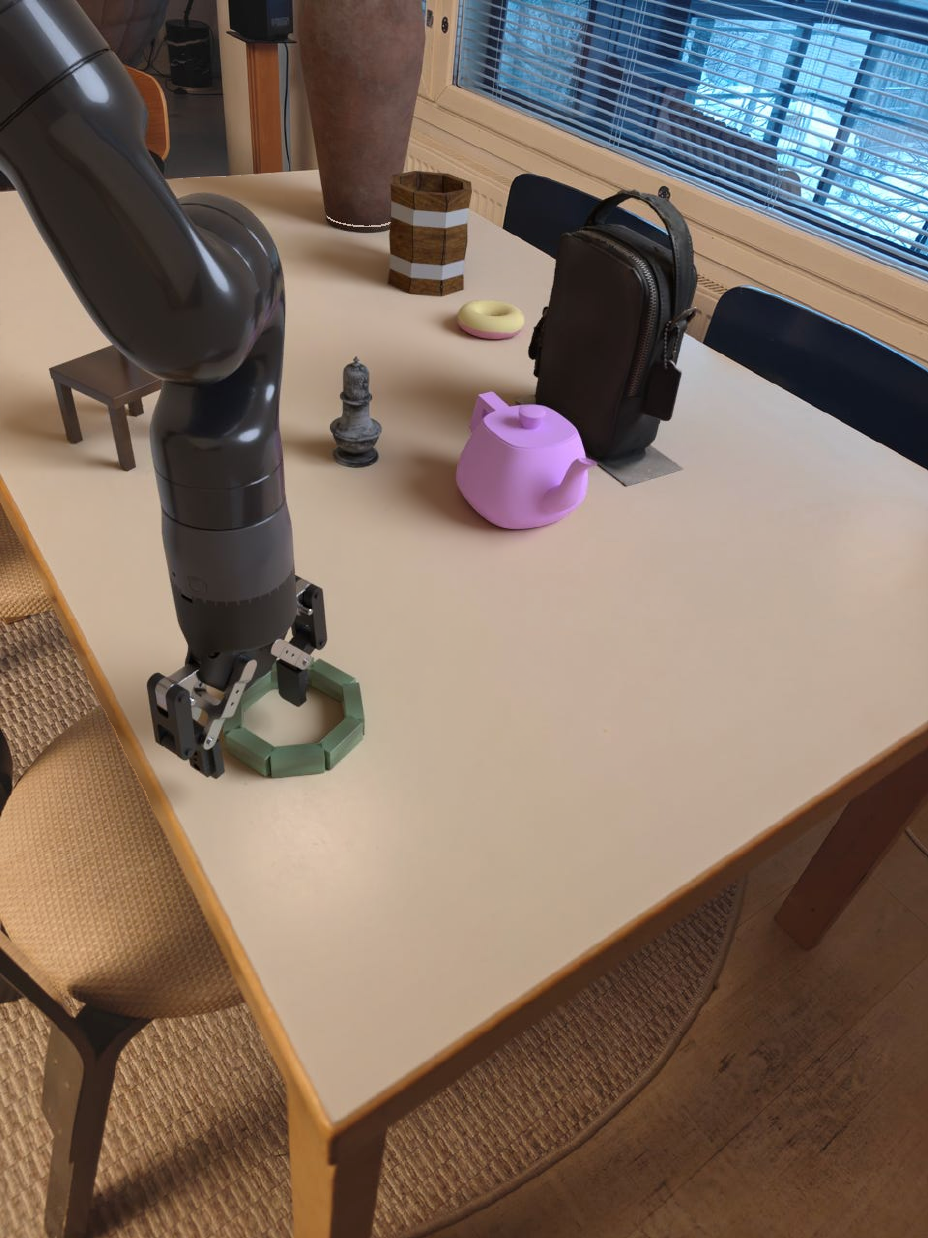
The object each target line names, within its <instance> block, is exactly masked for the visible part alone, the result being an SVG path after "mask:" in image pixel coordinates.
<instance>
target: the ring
mask: <svg viewBox="0 0 928 1238" xmlns="http://www.w3.org/2000/svg"><path fill="white" fill-rule="evenodd" d="M311 657H312V660H311V663H310V665H309V666H308V668H307V673H308V687H311V686H312V687H314V689H316V690H319V691H321V692H322V693H324V694H326V695H327V696H329V697H330V698H333V700H336V701H338V702H339V703H341V705H342V712H343V719H342V720H340V722H338V724H336V726H334V727H333V728H332V729H331V730H330V731H329V732H328V733H327V734H326V735H325V736H323V737H322V739H320V740H319V741H317V742H309V743H307V742H306V743H298V744H288V745H278V746H274V745H273V744H271V743H269V741H266V740H265V739H263V738H261V736H258V735H257V734H255V733H254V732H252V731H251V730H249V729H248V728H246V727H245V721H244V720H245V719H244V717H245V715H244V712H246V711H247V710H248V709H250V707H251V706H253V705H254V704H255V703H257V702H258V701H259V700H260V699H262V698H263V697H264V696H265V695H266V694H267V693H269V692H270V691H271V690H274V689H275V690H276V689H278V680H277V668H276V661H278V660H279V659H277V660H276V661H275V663H274V664H273V665H272V668H273V669H272V670H271V671H269V672H268V673H267V674H266V675H264V676H262V677H260V678H258V679H257V680H256V681H255V682H254V683H253V684H252V685H251V686H250V687H249V688H248V689H247V690H246V691H245V692H243V693H242V696H241V698H240V701H239V703H238V706H237V708H236V711H235V713H234V715H233V716H232V717H231V718H227V719H225V721H224V723H223V726H222V734H223V736H222V737H223V742H224V743H223V744H224V747H225V749H227V753H228V754H229V755H231V756H233V757H235V758H236V759H238V760H239V761H240V762H242V763H243V764H245V765H246V766H248V767H250V768H251V769H253V770H254V771H256V772H257V773H259V774H261V775H262V776H264V778H266V777H268V776H269V775H270V774H271V778H272V779H278V778H287V777H296V776H305V775H316V774H325V772H326V769H327V770H329V771H332V770H333V768H334V767H336V766H337V765H338V764H339V763H340V762H341V761H342V760H343V759H344V758H345V757H346V756H347V755H348V754H349V753H350V752H351V751H352V750H353V749H354V748H356V747H357V746H358V744H360V743H361V742H362V740H363V739H364V738H363V737H364V735H365V732H366V731H365V730H366V729H365V727H366V725H365V724H366V717H365V711H364V704H363V698H362V692H361V684H360V682H358V681H357V678H355V677H354V676H352V675H350V674H348V673H347V672H345V671H343V670H341V669H339V668H338V667H336V666H334V665H332V664H331V663H329V662H327V661H325V660H323V659H322V658H320V657H319V658H318V659H316V660H315V658H314V656H311ZM223 695H224V693H223ZM223 695H222V696H223Z"/></svg>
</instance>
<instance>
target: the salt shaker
mask: <svg viewBox="0 0 928 1238" xmlns="http://www.w3.org/2000/svg"><path fill="white" fill-rule="evenodd" d="M352 361H353V362H350V363H348V364H347V365H345V366H344V368H343V370H342V391H341V392H339V399H340V400H341V401H342V413H341V416H338V417H336V418H334V419H333V420H332V422H331V423H330V424H329V431H330V433H331V434H332V438H333V440H334V442H335V444H336V446H337V447H335V448H334V449H333V451H332V458H333V460H334V461H335V462H337V464H339V465H341V466H345V467H348V468H365V467H369V466H372V465H374V464H375V463H376V462H377V461H378V460H379V455H380V454H379V452H378V450H377V449H376V448H375V446H376V444H377V443H378V441H379V439H380V435H381V434H382V432H383V427H382V424H381V423H380V422H379V421H378V420H376V419H375V418H372V417H371V414H370V403H371V402H372V400H373V395H372V393H371V392H370V370H369V368H368V367H367V366H366V365H364V363H361V362H360V359H359V357H358V355H356V356H354V358H352Z"/></svg>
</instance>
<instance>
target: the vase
mask: <svg viewBox="0 0 928 1238" xmlns="http://www.w3.org/2000/svg"><path fill="white" fill-rule="evenodd" d="M423 5H424V4H423V1H422V0H299V5H298V15H297V25H296V28H297V37H298V46H299V48H298V49H299V55H300V57H299V58H300V65H301V70H302V76H303V82H304V87H305V93H306V98H307V104H308V105H307V106H308V109H309V116H310V122H311V128H312V134H313V136H312V137H313V142H314V148H315V155H316V161H317V168H318V175H319V182H320V187H321V193H322V194H321V195H322V202H323V208H324V214H325V213H326V214H325V220H326V223H327V224H329V225H330V226H332V227H333V228H336V229H338V230H342V231H347V232H351V233H360V234H370V233H371V234H372V233H373V234H375V233H381V232H385V231H390V224H389V225H386V226H381V227H353V226H347V225H343V224H339V223H336V222H333V221H331V220H330V219H328V218H327V217H326V215H327V216H328V217H330V218H331V219H333V220H335V221H338V222H341V223H346V224H351V225H352V224H353V225H364V226H369V225H370V226H371V225H381V224H385V223H388V222H391V205H392V200H391V187H390V183H391V177H392V175H394V174H400V173H402V172H405V166H406V160H407V153H408V148H409V142H410V137H411V136H410V135H411V131H412V126H413V125H412V124H413V119H414V113H415V109H416V103H417V99H418V93H419V89H420V84H421V79H422V73H423V65H424V57H425V47H426V40H427V36H426V26H425V15H424V6H423Z"/></svg>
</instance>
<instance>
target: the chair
mask: <svg viewBox="0 0 928 1238" xmlns="http://www.w3.org/2000/svg"><path fill="white" fill-rule="evenodd" d="M48 372H49V375H50V379H51V380H52V383H53V386H54V390H55V394H56V399H57V403H58V408H59V411H60V415H61V419H62V423H63V428H64V432H65V435H66V436H65V437H66V440H67V441H68V442H70V443H72V444H74V445H75V444H77V443H80V442H81V441H83V440H84V438H83V433H82V429H81V425H80V421H79V417H78V412H77V407H76V402H75V398H74V393H73V391H76V392H78V393H81V394H82V395H85V396H87V397H88V398H91V399H93V400H95V401H97V402H99V403H101V404H104V405H106V406H107V410H108V416H109V420H110V424H111V429H112V430H111V431H112V434H113V439H114V444H115V450H116V455H117V459H118V465H119V468H120V469H122V470H123V471H126V472H129V471H131V470H133V469H135V468H137V464H136V459H135V454H134V449H133V443H132V437H131V432H130V427H129V421H128V416H127V411H126V405H127V408H128V412H129V414H130V415H132V416H135V417H138V416H141V415H143V414H145V411H144V405H143V399H142V398H144V397H147V396H149V395H151V394H153V393H156V392H159V391H161V387H162V380H161V379H159V378H156V377H155V376H153V375H151V374H149V373H148V372H146V371H144V370H143V369H141V368H140V367H138V366H137V365H136V364H134V363H133V362H132V361H130V360H129V359H128V358H127V357H125V356H124V355H123V354H122V353H121V352H120V351H119V350H118V349H117V348H116V347H115V346H114V345H113V344H111V345H108V346H105V347H103V348H100V349H97V350H95V351H91V352H89V353H86V354H83V355H82V356H78V357H76V358H73V359H71V360H67V361H65V362H62V363H60V364H57V365H54V366H51V367H49V368H48Z"/></svg>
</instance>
